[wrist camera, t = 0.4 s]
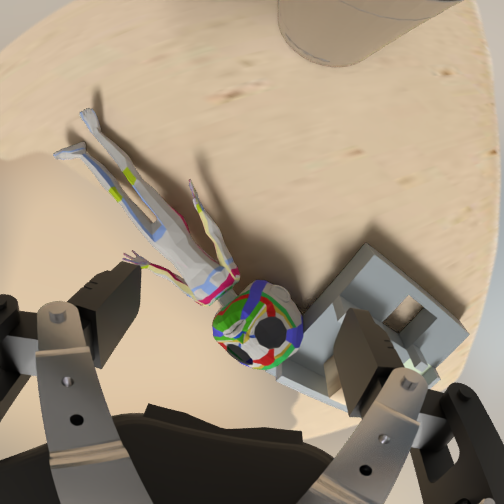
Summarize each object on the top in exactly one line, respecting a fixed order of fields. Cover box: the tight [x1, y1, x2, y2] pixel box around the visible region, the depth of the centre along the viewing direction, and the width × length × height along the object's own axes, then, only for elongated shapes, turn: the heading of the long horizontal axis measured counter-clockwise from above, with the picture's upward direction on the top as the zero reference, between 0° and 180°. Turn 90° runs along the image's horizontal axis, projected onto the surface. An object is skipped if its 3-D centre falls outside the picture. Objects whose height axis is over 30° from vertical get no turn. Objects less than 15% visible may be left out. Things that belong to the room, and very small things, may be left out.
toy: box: [53, 108, 303, 370], centre depth 28 cm, size 10×8×30 cm
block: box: [324, 355, 346, 405], centre depth 29 cm, size 5×5×5 cm
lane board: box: [265, 243, 470, 418], centre depth 31 cm, size 17×18×6 cm
